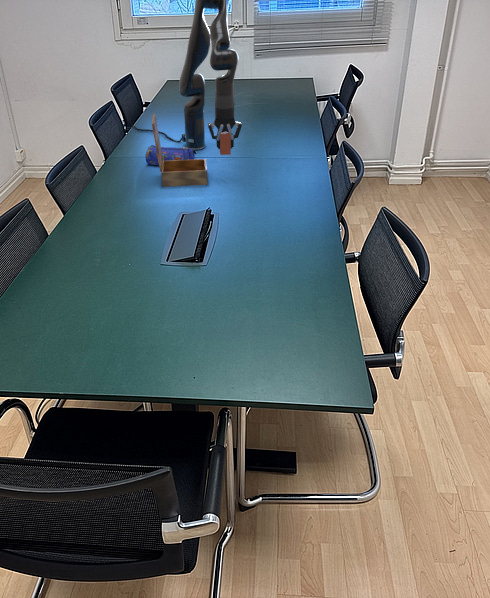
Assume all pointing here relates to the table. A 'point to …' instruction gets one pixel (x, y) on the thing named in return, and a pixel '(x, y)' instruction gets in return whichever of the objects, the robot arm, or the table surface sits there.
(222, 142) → the block
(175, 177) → the chest
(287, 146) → the table surface
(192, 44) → the robot arm
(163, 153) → the pencil case
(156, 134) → the lid
